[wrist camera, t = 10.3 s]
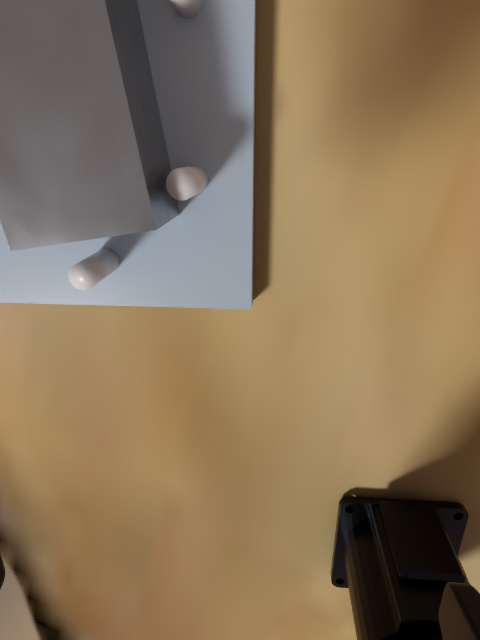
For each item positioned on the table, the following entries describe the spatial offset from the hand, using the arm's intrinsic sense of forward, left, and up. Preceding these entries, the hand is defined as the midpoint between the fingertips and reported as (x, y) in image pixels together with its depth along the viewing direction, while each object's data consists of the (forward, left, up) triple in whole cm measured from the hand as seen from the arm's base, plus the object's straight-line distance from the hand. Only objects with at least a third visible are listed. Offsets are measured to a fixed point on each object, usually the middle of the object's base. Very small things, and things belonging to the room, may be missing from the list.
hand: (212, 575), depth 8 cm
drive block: (+10, +6, -11) cm, 16 cm away
